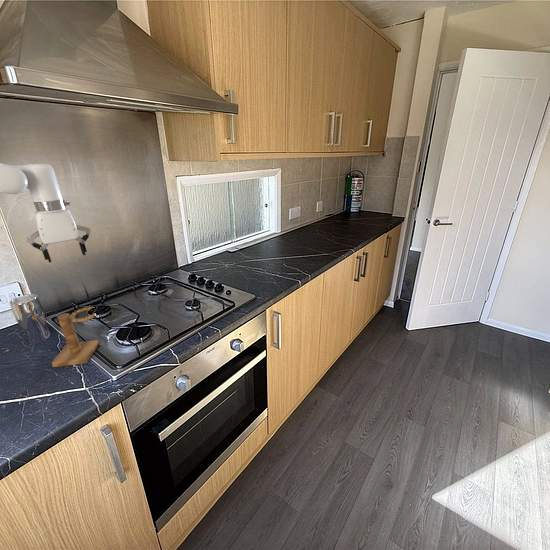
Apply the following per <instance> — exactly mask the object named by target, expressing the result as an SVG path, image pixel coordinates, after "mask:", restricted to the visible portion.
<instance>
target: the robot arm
mask: <svg viewBox="0 0 550 550" xmlns="http://www.w3.org/2000/svg"><path fill="white" fill-rule="evenodd" d="M26 190H28V191H29V193H30V197H31V199H32V202H33V205H34V208H35V211H34V212H33V216H34V221H35V224H36V228H37V230H36V231H35V232H33V233H32V234H31V235H29V236H28V237H26V238H25V241H26V242H27V243H28V244H29V245H31V246H32V247H33V248H35V249H37V250H38V251H41V252H42V256H43V257H44V260H45V261H48V263H52V258H51V256H50V253H49V250H48V246H49V245H52V244H53V245H54V244H57V243H64V242H70V241H75V240H76V241H77V242H78V245H79V249H80V251H81V254H82V256H86V253H87V252H88V251H87V247H86V241H88V239H89V237H90V234H91V229H90V228H89V227H85V226H82V225H78V224H76V221H75V219H74V217H73V215H72V213H71V210H70V208H68V207H67V206H69V205H71V203H70V200H66V199H64V198H63V195H62V191H61V189H60V185H59V182H58V178H57V176H56V172H55V170H54V167H53V166H52V165H51V164H49V163H28V164H24V165H20V164H19V165H17V164H15V165H14V164H13V165H12V164H6V163H1V162H0V193H1V194H6V195H19V194H21V193H24V191H26ZM79 231H81V232H84V234H83V235H82V237H81V236H80V234H79ZM38 237H39V238H40V240H41V242H42V243H40V244H39V243H37V242H36V241H35V239H37V238H38Z"/></svg>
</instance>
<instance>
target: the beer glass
mask: <svg viewBox="0 0 550 550" xmlns="http://www.w3.org/2000/svg"><path fill="white" fill-rule="evenodd" d="M9 305H10V308H11V312H12V314H13V317H14V319H15V321H16V323H18V325H19V326H20V328H21V329H22V330H23V331H24V333H25V335H26V337H27V342H28V344H29V345H39V344H42V343H44V342H47V341H48V340H50V339H51V338H52V333H51V332H50V330H49V329H48V326H47V320H46V313H45V309H44V307H43V304H42V302H41V300H40V299H39V297H38V295H37V294H36V293H35V294H34V293H29V294H23V295H20V296H17V297H14V298H13V299H11V300H10V301H9Z"/></svg>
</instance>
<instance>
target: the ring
mask: <svg viewBox="0 0 550 550" xmlns="http://www.w3.org/2000/svg"><path fill="white" fill-rule="evenodd" d="M92 308H95V306H86V307H83V308H79V309H77V310H75V311H73V312H72V313H70V317H71V320H72V323H83V322H86V321H89V320H92V319H94V318H95V317H94V315H96V313H94V312H93V313H92V314H90V315H88V316H85V317H80V318H77V317H76V316H77V315H78V314H80V313H84V312H86V311H91V310H90V309H92Z"/></svg>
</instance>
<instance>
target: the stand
mask: <svg viewBox="0 0 550 550" xmlns="http://www.w3.org/2000/svg"><path fill="white" fill-rule="evenodd" d="M70 315H71V313H69V312H68V313H67V312H65V313H61V314H58V315H57V321H58V323H59V326H60V329H61V331H62V334H63V336H64V339H65V341H66V344H64V347H63V348H62V349H61V350H60V352H59V353H58V354H57V355H56V357H55V358H54V359H53V360H52V362H51V365H52V368H57V367H65V366H73V365H82V364H89V362H90V360H91V358H92V357H93V355H94V354H95V352H96V350H97V349H98V348H99V346H100V344H99V343H100V340H99V339H95V340H85V341H80V340H79V336H78V334H77V332H76V329H75V326H74V322H72V320H71V317H70ZM93 353H94V354H93ZM92 354H93V355H92ZM91 356H92V357H91Z"/></svg>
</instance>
